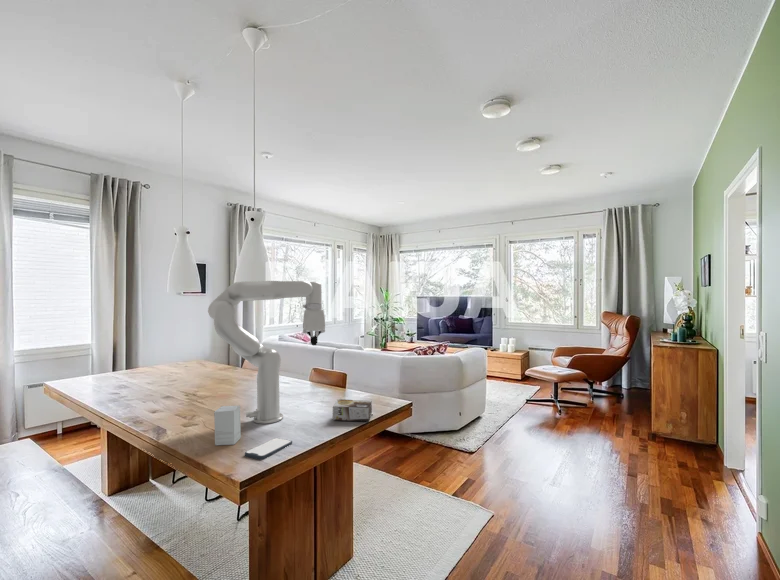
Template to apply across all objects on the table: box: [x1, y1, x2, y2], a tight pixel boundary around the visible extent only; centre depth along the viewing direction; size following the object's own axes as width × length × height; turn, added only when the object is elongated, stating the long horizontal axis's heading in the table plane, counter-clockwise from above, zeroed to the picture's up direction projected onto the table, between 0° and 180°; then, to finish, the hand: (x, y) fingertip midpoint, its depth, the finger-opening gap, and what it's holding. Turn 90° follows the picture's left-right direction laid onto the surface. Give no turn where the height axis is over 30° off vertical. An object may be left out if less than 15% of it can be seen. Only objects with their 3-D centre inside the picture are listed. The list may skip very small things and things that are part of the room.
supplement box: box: [213, 405, 242, 446], centre depth 144 cm, size 7×7×13 cm
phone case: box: [244, 437, 293, 461], centre depth 135 cm, size 9×2×16 cm
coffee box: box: [332, 398, 373, 423], centre depth 168 cm, size 9×6×16 cm
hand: (314, 344), depth 183 cm, fingers closed
